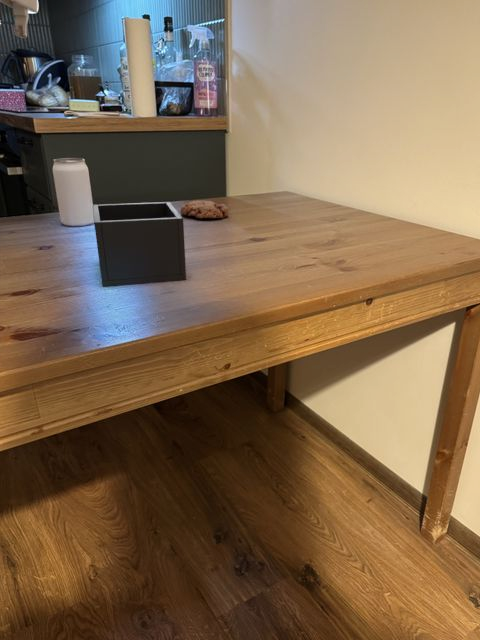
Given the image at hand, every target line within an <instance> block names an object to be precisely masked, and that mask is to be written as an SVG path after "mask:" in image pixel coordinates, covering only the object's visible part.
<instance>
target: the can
mask: <svg viewBox="0 0 480 640" xmlns="http://www.w3.org/2000/svg"><path fill="white" fill-rule="evenodd" d="M52 175H53V183H54V188H55V189H54V190H55V194H56V201H57V206H58V213H59V218H60V223H61V224H62V225H63V226H65V227H74V228H75V227H87V226H90V225H94V216H93V207H92V205H94V204H93V196H92V195H93V194H92V187H91V180H90V173H89V168H88V166H87V164H86V161H85V159H84V158H81V157H80V158H79V157H63V158H55V159H53V166H52Z"/></svg>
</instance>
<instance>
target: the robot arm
mask: <svg viewBox="0 0 480 640" xmlns="http://www.w3.org/2000/svg"><path fill="white" fill-rule="evenodd" d="M0 3H2V4H3V5H5V6H7V7H9V8H11V9H12V11H13V15H14V17H15V18H14V24H12V26H13V35H14V36H15V37H17V38H20V39H26V38H28V28H27V27H28V23H29V17H30V16H29V14H37V13H38V12H39V0H0ZM0 27H2V22H1V21H0Z"/></svg>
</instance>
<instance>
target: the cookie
mask: <svg viewBox="0 0 480 640" xmlns="http://www.w3.org/2000/svg"><path fill="white" fill-rule="evenodd" d="M179 213H180V215H181V216H182V215H183V216H186V217H195V218H197V219H208V218H209V219H224V218H226V217H228V215H229V207H227V206H226V205H225V204H224V203H220V204H219V203H216V202H214V201H212V200H203V199H202V200H199V199H198V200H192V201H188V202H187V203H183V204H182V205H181V206H180V210H179Z"/></svg>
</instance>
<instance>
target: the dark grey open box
mask: <svg viewBox="0 0 480 640" xmlns="http://www.w3.org/2000/svg"><path fill="white" fill-rule="evenodd" d="M92 207H93V216H94V223H93V225H94V231H95V233H94V234H95V239H96V248H97V255H98V262H99V271H100V279H101V285H102V287H115V285H116V286H126V285H137V284H139V283H140V284H149V282H152V283H162V281H164V282H174V281H175V282H176V281H186V280H187V269H186V268H187V267H186V265H187V264H186V247H185V227H184V224H185V223H184V218H183V217H182V214H181V213H180V212H179V211H178V210H177V208H176V207H175V206H174V205H173V204H172V203H171V202H170V201H160V202H159V201H158V202H155V201H154V202H133V203H131V202H129V203H105V204H104V203H103V204H93V205H92Z"/></svg>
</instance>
